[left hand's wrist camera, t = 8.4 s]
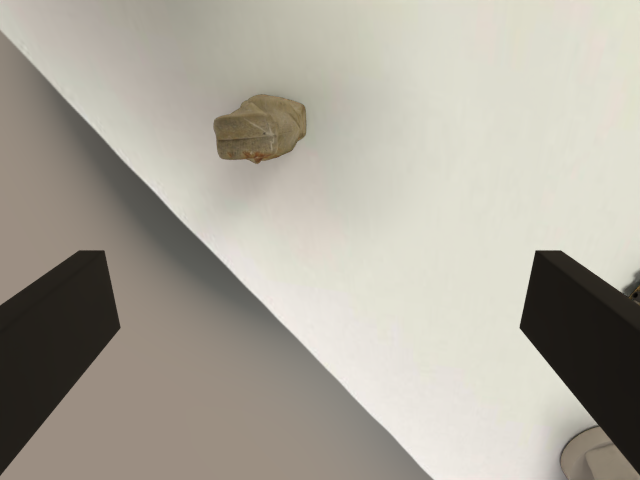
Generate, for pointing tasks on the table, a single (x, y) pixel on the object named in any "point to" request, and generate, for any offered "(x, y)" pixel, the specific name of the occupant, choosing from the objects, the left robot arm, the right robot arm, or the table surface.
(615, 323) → the left robot arm
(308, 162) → the table surface
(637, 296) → the spray gun
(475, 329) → the table surface
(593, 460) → the bust sculpture
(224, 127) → the sculpture
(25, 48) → the table surface
